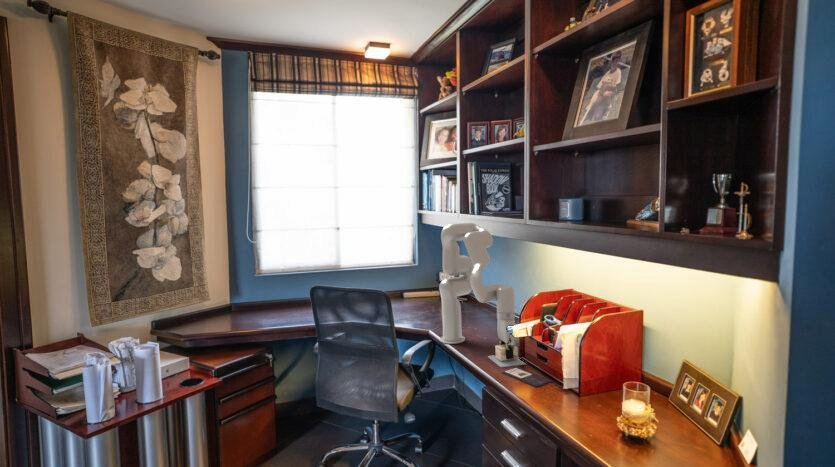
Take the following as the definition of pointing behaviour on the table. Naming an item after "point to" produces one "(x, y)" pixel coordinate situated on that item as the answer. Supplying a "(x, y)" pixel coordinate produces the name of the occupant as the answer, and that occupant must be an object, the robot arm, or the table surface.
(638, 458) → the table surface
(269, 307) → the table surface
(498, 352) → the maple block
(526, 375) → the chocolate bar
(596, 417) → the table surface
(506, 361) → the desk mat
